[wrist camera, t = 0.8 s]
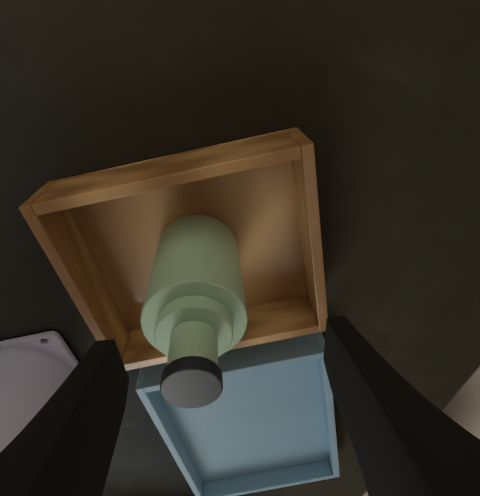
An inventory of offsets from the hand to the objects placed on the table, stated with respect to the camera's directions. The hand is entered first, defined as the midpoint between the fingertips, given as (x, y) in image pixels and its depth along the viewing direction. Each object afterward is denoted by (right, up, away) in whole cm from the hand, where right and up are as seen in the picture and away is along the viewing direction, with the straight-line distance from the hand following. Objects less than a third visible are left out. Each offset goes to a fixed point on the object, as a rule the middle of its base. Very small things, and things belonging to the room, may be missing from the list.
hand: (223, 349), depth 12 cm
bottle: (-2, +3, +9) cm, 10 cm away
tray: (+2, -12, +19) cm, 23 cm away
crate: (-2, +4, +10) cm, 10 cm away
